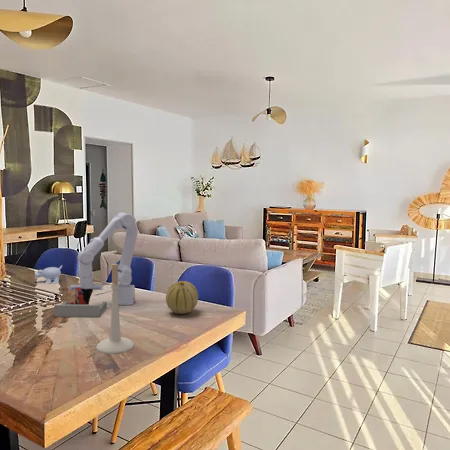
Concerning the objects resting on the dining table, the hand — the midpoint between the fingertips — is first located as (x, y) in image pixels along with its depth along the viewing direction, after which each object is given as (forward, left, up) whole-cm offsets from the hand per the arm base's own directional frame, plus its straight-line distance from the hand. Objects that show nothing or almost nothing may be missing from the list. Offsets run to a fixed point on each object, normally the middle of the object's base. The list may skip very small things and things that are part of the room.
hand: (86, 304), depth 191 cm
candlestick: (-24, +47, -2) cm, 53 cm away
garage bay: (0, +7, -1) cm, 7 cm away
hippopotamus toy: (+37, -52, -2) cm, 64 cm away
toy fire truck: (+1, +7, -2) cm, 7 cm away
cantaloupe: (-45, +7, -2) cm, 45 cm away
